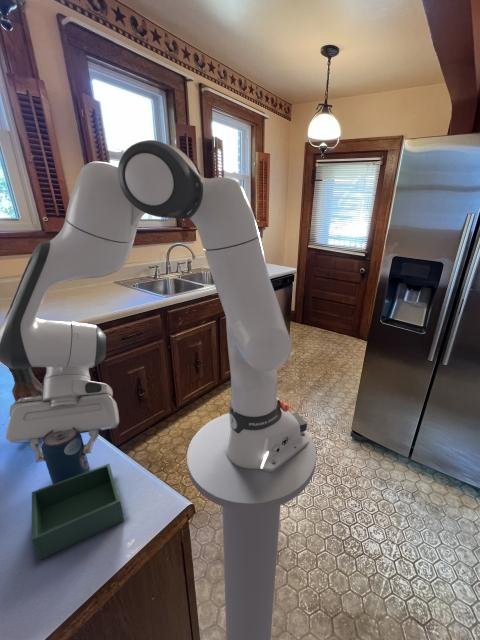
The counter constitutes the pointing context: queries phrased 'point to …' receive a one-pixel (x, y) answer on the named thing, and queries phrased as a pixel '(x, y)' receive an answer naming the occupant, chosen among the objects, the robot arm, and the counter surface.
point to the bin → (74, 510)
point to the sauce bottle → (25, 384)
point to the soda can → (64, 454)
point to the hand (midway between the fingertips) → (65, 457)
